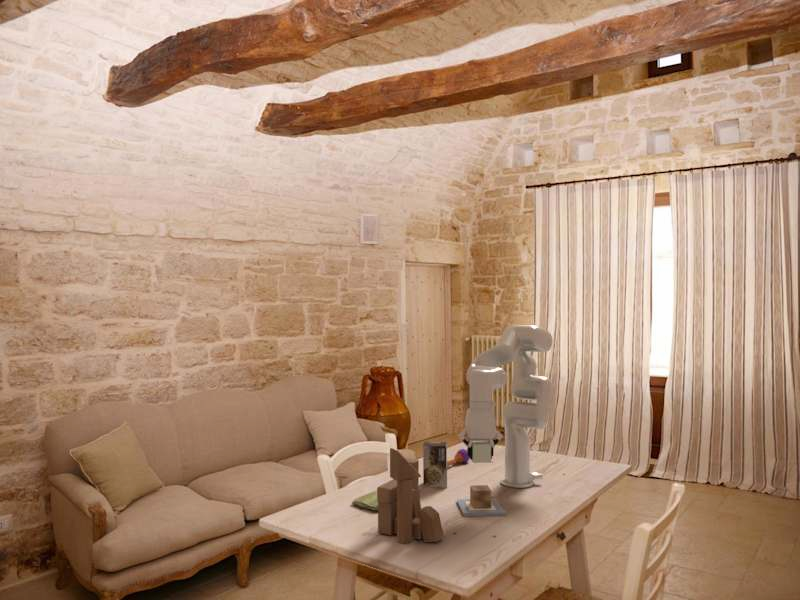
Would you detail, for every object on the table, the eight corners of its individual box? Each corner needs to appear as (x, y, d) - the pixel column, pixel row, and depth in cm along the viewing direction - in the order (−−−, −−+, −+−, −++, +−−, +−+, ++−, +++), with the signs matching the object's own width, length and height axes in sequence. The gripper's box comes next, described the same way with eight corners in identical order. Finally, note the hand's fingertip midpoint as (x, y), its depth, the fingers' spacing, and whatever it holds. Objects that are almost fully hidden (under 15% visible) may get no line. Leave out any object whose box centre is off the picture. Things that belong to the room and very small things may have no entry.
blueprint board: (495, 501, 226) (495, 498, 226) (505, 515, 212) (505, 512, 212) (456, 502, 225) (456, 499, 225) (463, 516, 211) (463, 513, 211)
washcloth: (349, 506, 221) (349, 497, 221) (383, 494, 235) (383, 485, 235) (378, 514, 213) (378, 505, 213) (411, 501, 227) (411, 492, 227)
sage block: (487, 457, 221) (487, 440, 221) (490, 462, 215) (491, 444, 215) (470, 458, 220) (470, 440, 220) (473, 462, 214) (473, 445, 214)
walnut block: (487, 502, 221) (487, 485, 221) (491, 508, 215) (491, 490, 215) (470, 502, 221) (470, 485, 221) (473, 508, 215) (473, 491, 215)
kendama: (433, 460, 266) (460, 447, 281) (436, 474, 265) (462, 460, 281) (445, 460, 262) (471, 447, 277) (447, 474, 262) (473, 460, 277)
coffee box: (447, 483, 247) (447, 441, 247) (446, 488, 240) (447, 445, 240) (423, 482, 248) (423, 441, 248) (422, 487, 241) (422, 445, 241)
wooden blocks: (427, 553, 181) (427, 455, 180) (368, 540, 191) (368, 446, 190) (462, 526, 202) (462, 438, 202) (407, 515, 212) (407, 431, 211)
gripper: (502, 403, 222) (502, 455, 222) (453, 403, 221) (453, 455, 221) (508, 407, 214) (507, 460, 215) (457, 407, 213) (457, 461, 213)
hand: (480, 457), depth 218 cm, fingers closed on sage block, 6 cm apart
